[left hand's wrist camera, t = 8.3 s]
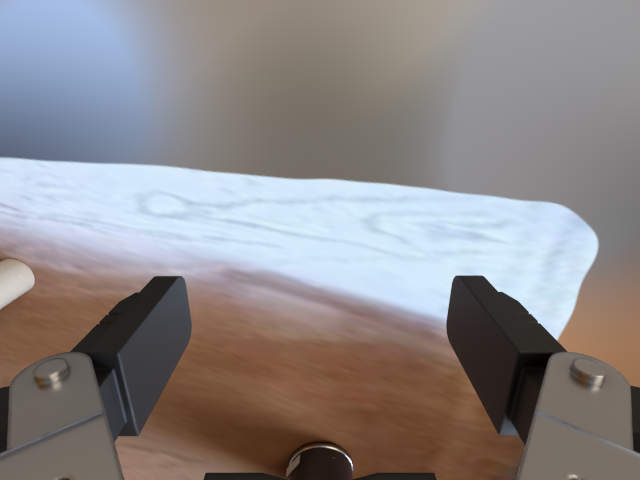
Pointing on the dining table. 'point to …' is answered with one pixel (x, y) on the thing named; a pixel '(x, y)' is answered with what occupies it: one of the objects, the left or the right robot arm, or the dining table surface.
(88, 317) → the dining table surface
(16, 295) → the white cylinder
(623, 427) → the left robot arm
